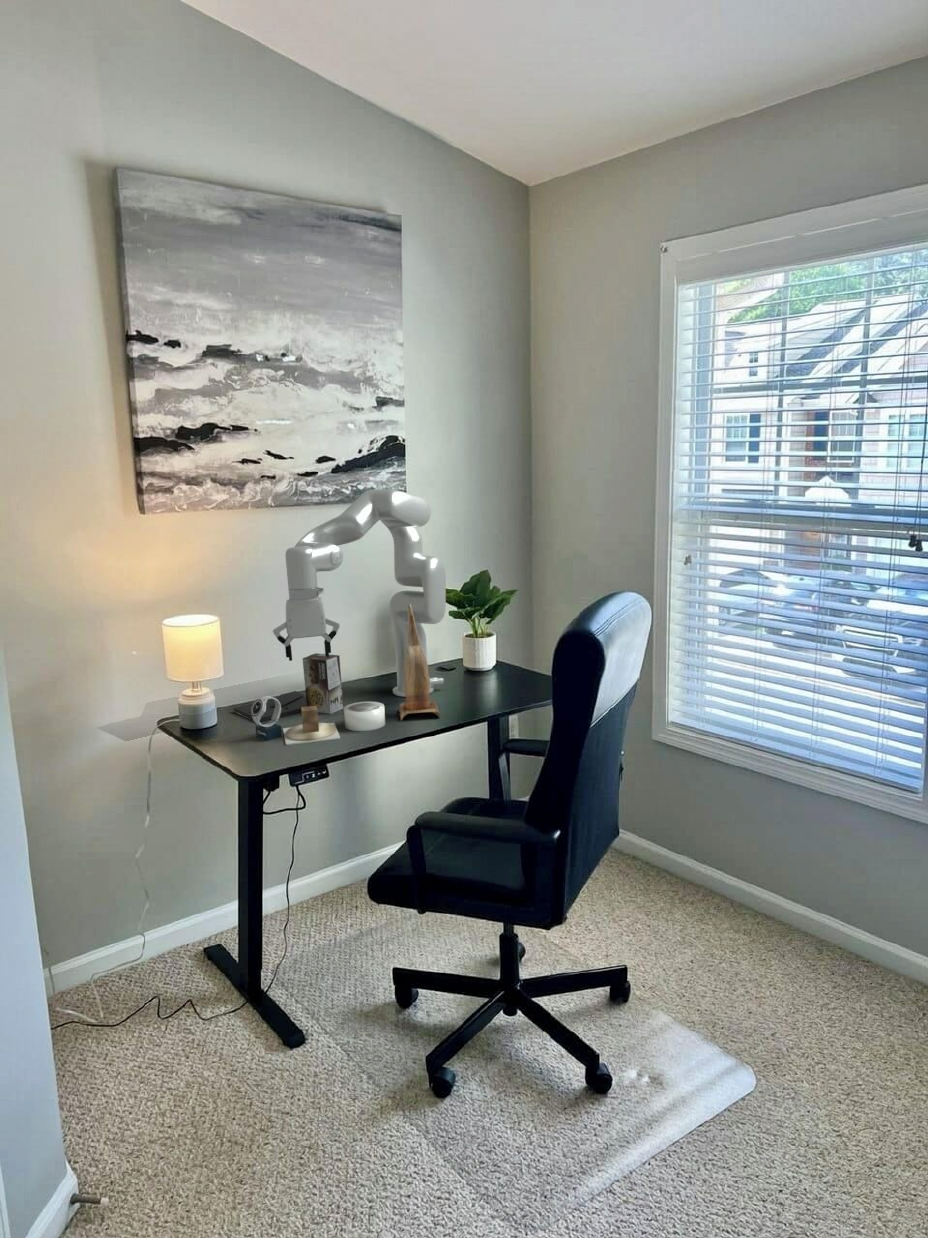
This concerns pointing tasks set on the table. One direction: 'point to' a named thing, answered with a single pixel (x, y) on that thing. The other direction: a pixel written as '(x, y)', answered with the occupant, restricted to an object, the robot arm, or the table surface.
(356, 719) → the bowl
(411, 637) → the tan tower model
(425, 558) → the robot arm
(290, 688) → the table surface
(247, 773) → the table surface
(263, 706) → the watch
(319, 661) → the coffee box
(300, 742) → the mat
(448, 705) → the table surface
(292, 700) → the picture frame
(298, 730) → the lid
